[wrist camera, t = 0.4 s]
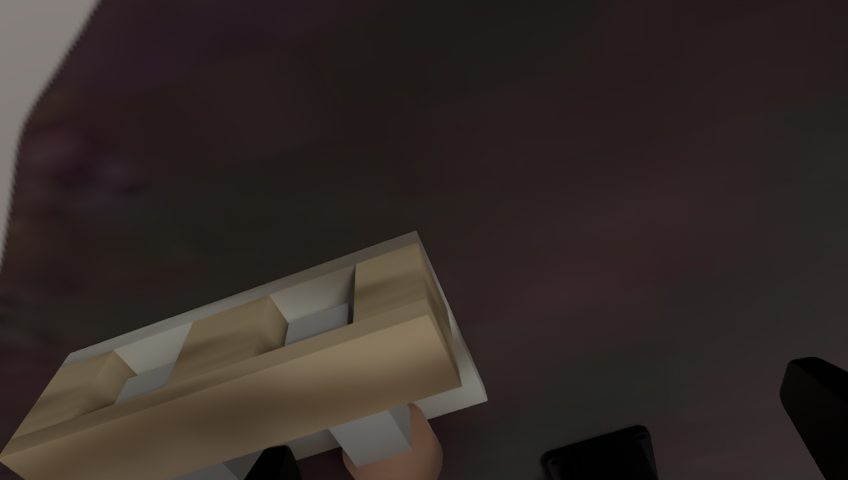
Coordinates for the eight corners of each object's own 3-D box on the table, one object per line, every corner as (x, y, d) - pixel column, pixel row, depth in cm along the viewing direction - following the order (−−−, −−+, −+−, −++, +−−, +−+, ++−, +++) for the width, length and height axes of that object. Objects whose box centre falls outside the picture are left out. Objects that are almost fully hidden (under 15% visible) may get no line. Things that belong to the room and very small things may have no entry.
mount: (484, 386, 29) (507, 482, 24) (197, 476, 31) (165, 582, 26) (416, 230, 23) (428, 314, 18) (70, 353, 25) (-4, 459, 20)
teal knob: (302, 458, 29) (292, 543, 25) (232, 480, 29) (210, 567, 26) (204, 338, 24) (172, 421, 20) (121, 367, 24) (73, 453, 20)
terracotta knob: (438, 417, 28) (448, 497, 24) (362, 440, 29) (361, 523, 25) (366, 282, 23) (365, 357, 19) (275, 314, 23) (256, 393, 20)
